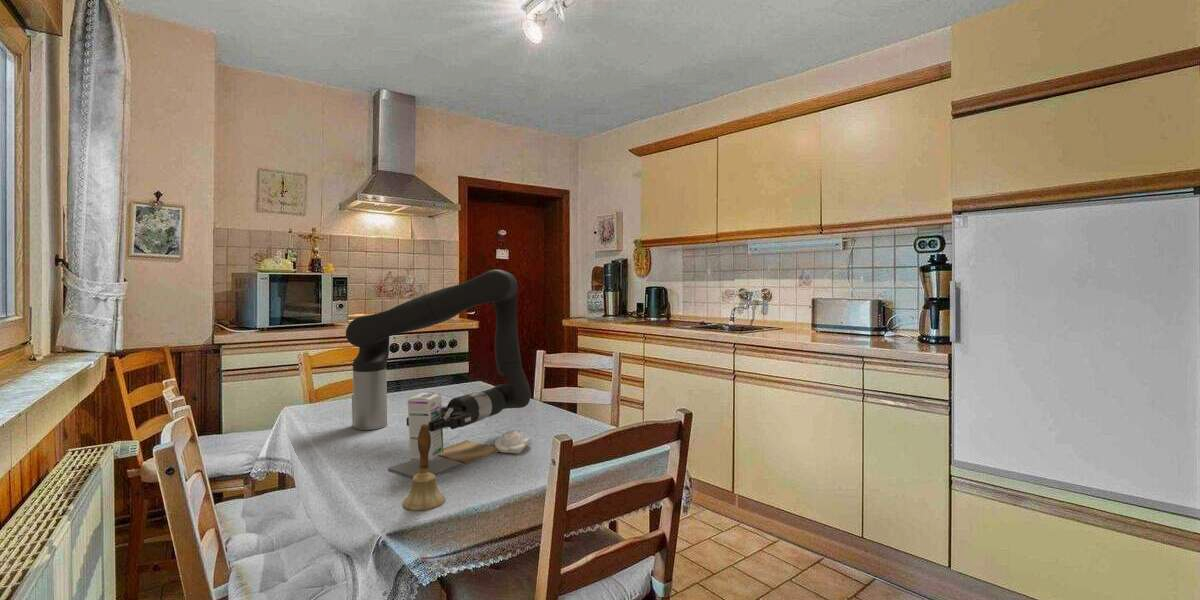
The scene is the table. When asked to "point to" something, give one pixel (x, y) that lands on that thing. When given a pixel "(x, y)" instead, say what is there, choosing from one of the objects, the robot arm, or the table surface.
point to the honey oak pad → (467, 451)
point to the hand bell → (423, 479)
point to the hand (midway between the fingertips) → (418, 424)
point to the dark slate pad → (434, 466)
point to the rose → (511, 442)
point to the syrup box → (425, 422)
